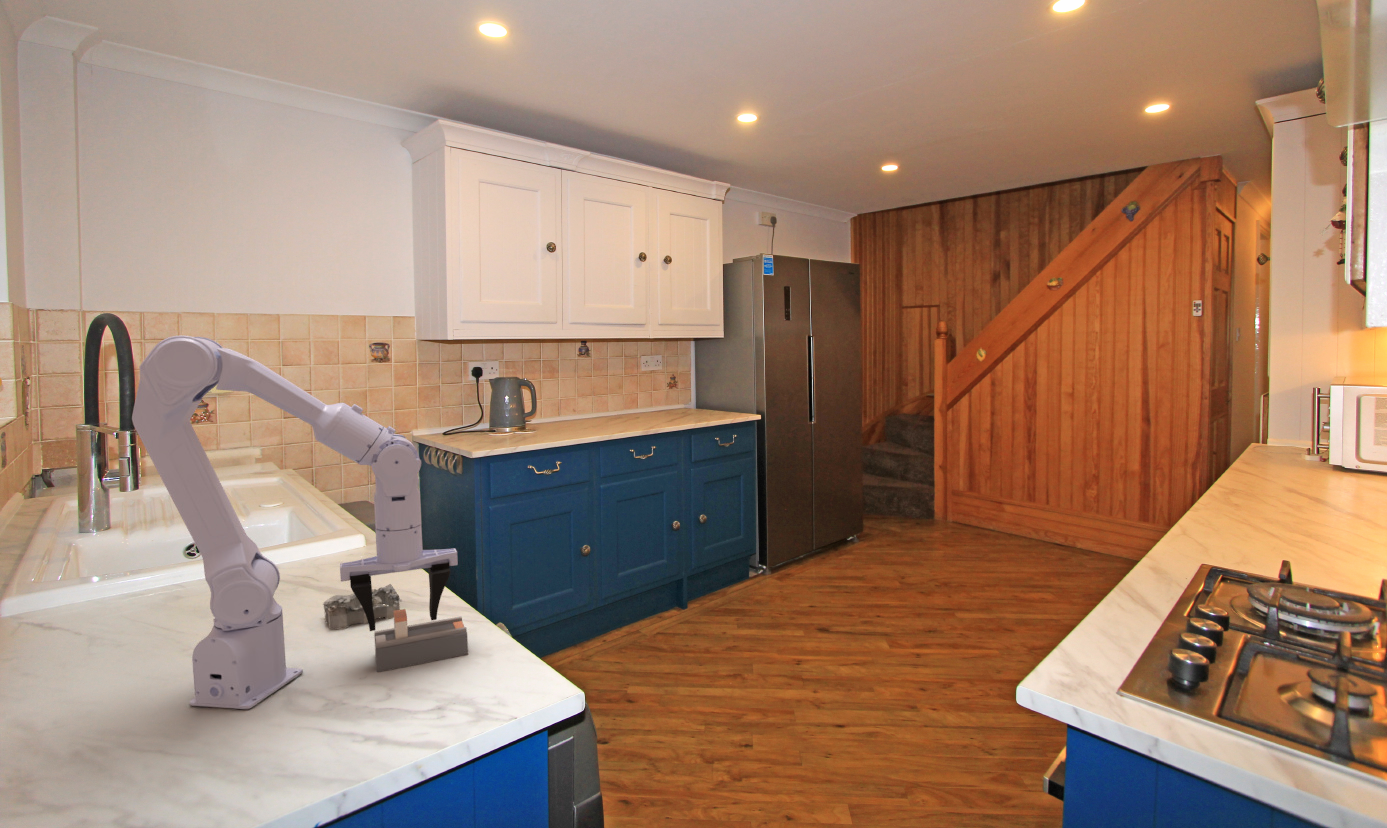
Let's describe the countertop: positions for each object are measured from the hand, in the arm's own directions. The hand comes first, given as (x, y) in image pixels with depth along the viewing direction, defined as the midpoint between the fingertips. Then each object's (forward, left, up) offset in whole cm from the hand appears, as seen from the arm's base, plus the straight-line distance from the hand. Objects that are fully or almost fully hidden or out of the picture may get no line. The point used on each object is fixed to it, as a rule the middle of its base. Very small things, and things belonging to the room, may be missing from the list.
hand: (403, 622), depth 93 cm
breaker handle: (0, 0, -2) cm, 2 cm away
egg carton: (+13, +15, -5) cm, 20 cm away
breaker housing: (+1, -2, -5) cm, 5 cm away
